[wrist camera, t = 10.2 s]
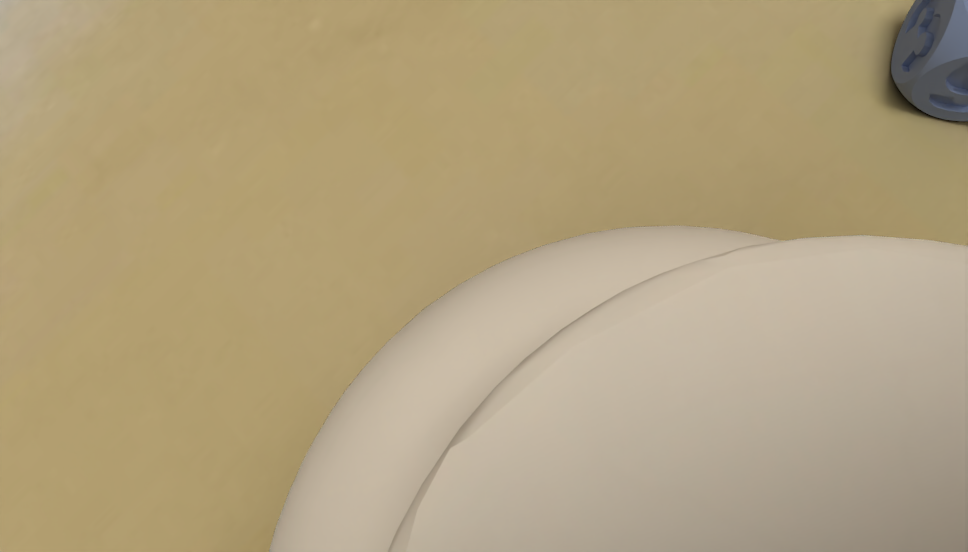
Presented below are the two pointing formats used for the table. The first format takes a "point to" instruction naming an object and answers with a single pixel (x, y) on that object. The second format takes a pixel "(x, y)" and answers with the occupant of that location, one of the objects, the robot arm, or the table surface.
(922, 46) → the decorative dice
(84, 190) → the table surface
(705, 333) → the pill bottle
